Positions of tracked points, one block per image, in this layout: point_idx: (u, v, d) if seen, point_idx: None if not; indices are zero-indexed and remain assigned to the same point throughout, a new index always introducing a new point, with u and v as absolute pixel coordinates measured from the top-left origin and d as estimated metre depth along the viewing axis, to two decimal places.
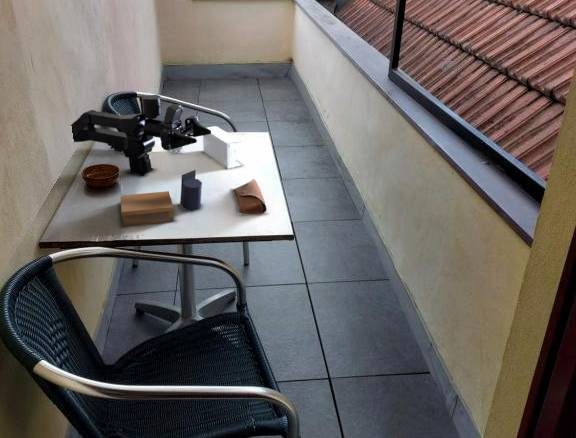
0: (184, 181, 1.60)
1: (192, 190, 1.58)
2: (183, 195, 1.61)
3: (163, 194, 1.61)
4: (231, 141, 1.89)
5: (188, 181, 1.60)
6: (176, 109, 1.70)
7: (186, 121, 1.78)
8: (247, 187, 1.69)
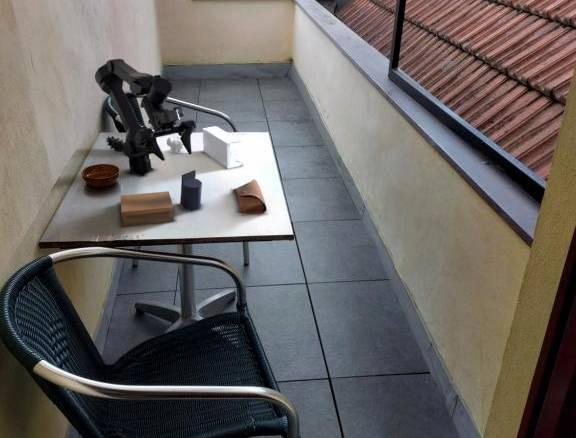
0: (184, 181, 1.60)
1: (192, 190, 1.58)
2: (183, 195, 1.61)
3: (163, 194, 1.61)
4: (231, 141, 1.89)
5: (188, 181, 1.60)
6: (170, 119, 1.58)
7: (182, 123, 1.67)
8: (247, 187, 1.69)
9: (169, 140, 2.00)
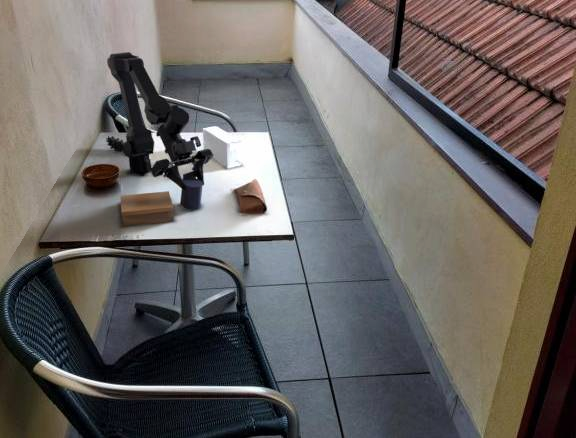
0: (185, 180, 1.60)
1: (192, 190, 1.59)
2: (183, 194, 1.61)
3: (163, 194, 1.61)
4: (231, 141, 1.89)
5: (189, 181, 1.61)
6: (188, 150, 1.56)
7: (199, 153, 1.64)
8: (248, 187, 1.69)
9: None
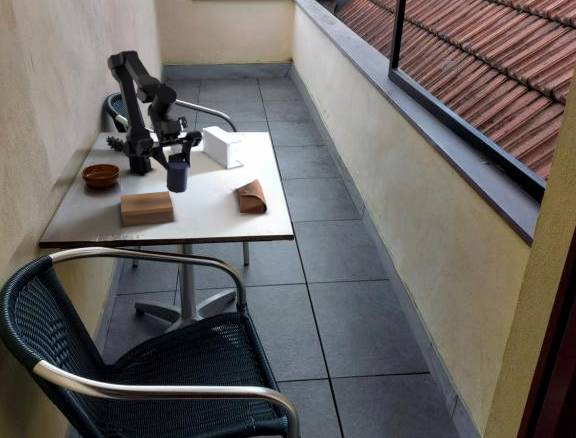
0: (170, 162, 1.55)
1: (176, 172, 1.53)
2: (168, 176, 1.56)
3: (163, 194, 1.61)
4: (231, 141, 1.89)
5: (174, 162, 1.55)
6: (172, 130, 1.50)
7: (188, 134, 1.58)
8: (249, 187, 1.69)
9: None
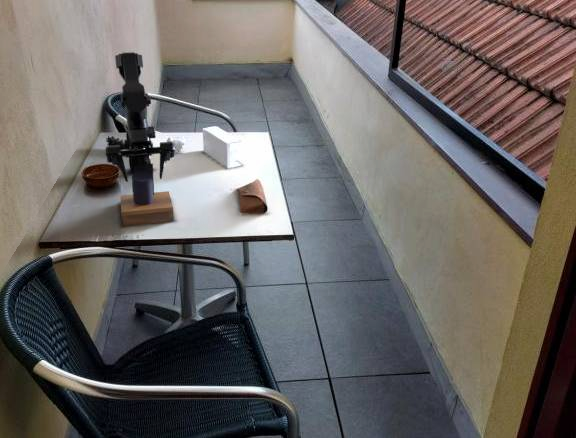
0: (135, 173, 1.53)
1: (137, 184, 1.50)
2: (132, 187, 1.53)
3: (163, 194, 1.61)
4: (231, 141, 1.89)
5: (139, 174, 1.53)
6: (136, 139, 1.47)
7: (160, 144, 1.54)
8: (250, 187, 1.69)
9: (169, 140, 2.00)
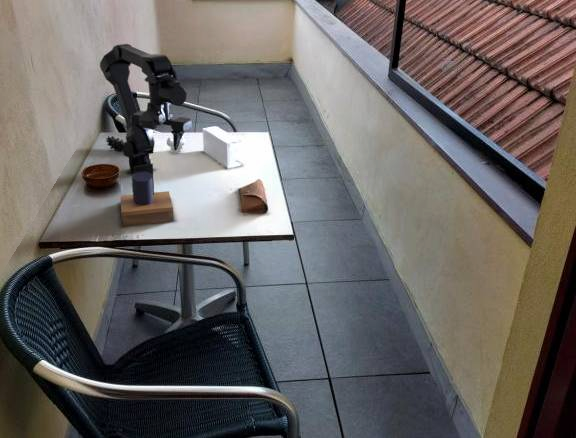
0: (135, 173, 1.53)
1: (137, 184, 1.50)
2: (132, 187, 1.53)
3: (163, 194, 1.61)
4: (231, 141, 1.89)
5: (139, 174, 1.53)
6: (144, 126, 1.62)
7: None
8: (251, 187, 1.70)
9: (169, 140, 2.00)
